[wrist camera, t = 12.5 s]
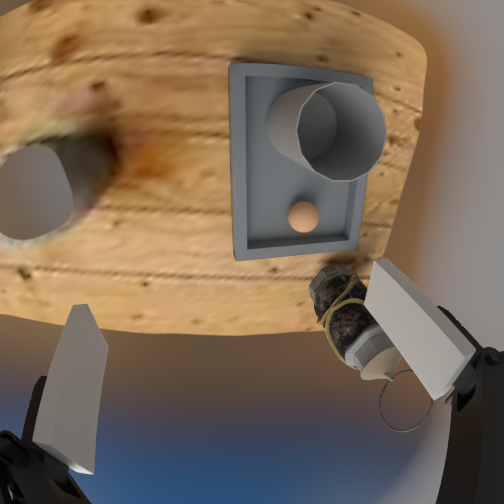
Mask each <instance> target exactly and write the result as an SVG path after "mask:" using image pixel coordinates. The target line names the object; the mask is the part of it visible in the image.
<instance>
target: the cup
mask: <svg viewBox="0 0 504 504" xmlns="http://www.w3.org/2000/svg"><path fill="white" fill-rule="evenodd" d="M265 127H266V130H267V134H268V138H269V141H270V142H271V143H272V144H273V146H274V147H275V148H276V149H277V150H278V152H279V153H281V154H283V155H284V156H286V157H288V158H290V159H292V160H293V161H295V162H297V163H299V164H300V165H302V166H304V167H306V168H307V169H309V170H311V171H312V172H314V173H316V174H318V175H320V176H322V177H324V178H326V179H328V180H330V181H332V182H352V181H354V180H356V179H358V178H360V177H362V176H364V175H366V174H368V173H369V172H370V171H371V170H372V169H373V167H374V166H375V165H376V163H377V162H378V161H379V160H380V158H381V157H382V154H383V150H384V146H385V143H386V139H387V132H386V124H385V117H384V114H383V112H382V111H381V109H380V107H379V105H378V104H377V102H376V100H375V99H374V97H373V96H371V95H370V94H369V93H367V92H366V91H365V90H363V89H362V88H360V87H359V86H357V85H355V84H348V83H341V82H329V83H322V84H316V85H310V86H304V87H299V88H294V89H291V90H289V91H286V92H284V93H282V94H280V95H278V96H277V98H276V99H275V100H274V101H273V103H272V104H271V105H270V106H269V107H268V112H267V116H266V121H265Z"/></svg>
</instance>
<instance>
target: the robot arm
mask: <svg viewBox="0 0 504 504" xmlns="http://www.w3.org/2000/svg"><path fill="white" fill-rule="evenodd" d="M364 306H365V307H366V308H367V309H368V311H369V312H370V313H371V315H372V316H373V317H374V318H375V320H376V321H377V322H378V324H379V325H380V326H381V328H382V329H383V330H384V331H385V333H386V334H387V335H388V337H389V338H390V339H391V341H392V342H393V343H394V345H395V346H396V348H397V349H398V350H399V352H400V353H401V354H402V356H403V357H404V358H405V360H406V361H407V363H408V364H409V365H410V367H411V368H412V370H413V371H414V372H415V374H416V375H417V377H418V378H419V379H420V381H421V382H422V384H423V385H424V387H425V388H426V389H427V391H428V392H429V394H430V395H431V397H432V398H433V400H435V399H437V398H439V397H440V396H442V395H444V394H445V393H446V392H447V391H448V390H449V388H450V387H451V386H452V384H453V386H454V387H455V389H454V390H453V392H452V393H451V394H450V395H449V397H448V398H447V399H446V401H445V404H447V403H448V402H449V401H450V400H451V399H452V401H451V403H450V405H452V411H451V423H450V433H449V441H448V448H447V455H446V460H445V466H444V471H443V476H442V480H441V485H440V489H439V493H438V497H437V501H436V504H504V351H502V352H499V351H497V350H496V349H494V348H492V347H486V348H483V347H482V346H480V345H479V343H478V342H477V341H476V340H475V339H474V338H473V337H472V335H470V333H469V332H468V331H467V330H466V329H465V328H464V327H463V326H461V324H460V323H459V321H458V320H456V318H455V317H454V316H453V315H452V314H451V313H450V312H449V311H448V310H446V309H444V308H443V307H441V306H436V305H435V304H433V302H432V301H431V300H430V299H429V298H428V297H427V296H426V295H425V294H424V293H422V291H421V290H420V289H419V288H418V287H417V286H416V285H415V284H413V283H412V282H411V281H410V280H409V279H408V278H407V277H406V276H405V275H404V274H403V273H402V272H401V271H400V270H399V269H398V268H397V267H396V266H395V265H393V264H392V263H391V262H390V261H389V260H388V259H387V258H383V259H378V260H374V262H373V267H372V272H371V277H370V281H369V285H368V290H367V294H366V298H365V302H364ZM108 348H109V347H108V345H107V343H106V341H105V339H104V337H103V335H102V333H101V332H100V329H99V327H98V325H97V323H96V321H95V319H94V317H93V315H92V313H91V311H90V308H89V306H88V304H80V305H73V307H72V309H71V312H70V314H69V317H68V319H67V322H66V324H65V327H64V329H63V332H62V335H61V337H60V340H59V343H58V346H57V349H56V351H55V355H54V357H53V360H52V364H51V367H50V370H49V373H48V376H41V377H40V379H39V380H38V381H37V383H36V384H35V386H34V389H33V393H32V396H31V397H32V399H31V400H30V403H29V408H28V411H27V415H26V420H25V424H24V429H23V433H22V438H21V440H20V439H19V438H18V437H17V436H15V435H14V434H13V433H11V432H10V431H6V430H3V431H1V432H0V504H91V503H90V501H89V500H88V499H87V497H86V496H85V495H84V493H83V492H82V490H81V489H80V487H79V486H78V485H77V483H76V482H75V480H74V479H73V477H72V476H71V475H70V474H69V473H68V468H69V467H70V468H71V469H73V470H75V471H76V472H80V473H87V474H94V458H95V443H96V430H97V420H98V411H99V403H100V396H101V388H102V381H103V376H104V369H105V364H106V359H107V353H108ZM10 493H12V495H13V500H12V499H11V496H10Z"/></svg>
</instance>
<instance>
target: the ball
mask: <svg viewBox="0 0 504 504" xmlns="http://www.w3.org/2000/svg"><path fill="white" fill-rule="evenodd" d="M288 220H289V223H290V225H291V226H292V228H293V229H295V230H296V231H298V232H309V231H311V230H313V229H314V228H315V227H316V226H317V224H318V222H319V212H318V210H317V208H316V207H315V206H314V205H313V204H312V203H310V202H306V201H301V202H297V203H296V204H294V205H293V206H292V207H291V208H290V210H289V213H288Z"/></svg>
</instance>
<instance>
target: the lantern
mask: <svg viewBox="0 0 504 504" xmlns="http://www.w3.org/2000/svg"><path fill="white" fill-rule="evenodd" d="M309 289H310V295H311V298H312V300H313V302H314V309H315V313H316V315H317V317H318V320H317V324H318V325H320V324H322V325H323V327H324V328H325V333H326V335H327V337H328V340H329V342H330V344H331V346H332V348H333V349H334V351H335V353H336V354H337V356H338V357H339V358H340V360H341V361H343V362H344V363H345V364H346V365H348V366H350V367H352V368H354V369H359V370H360V372H361V378H362V379H365V380H374V379H377V378H387V379H389V381H388V382H387V383H386V385H385V386H384V388H383V390H382V393H381V395H380V399H379V413H380V417H381V419H382V421H383V422H384V424H385V425H386V426H387V427H388V428H390V429H391V430H393V431H397V432H407V431H410V430H413V429H415V428H416V427H418V426H420V424H422V423H423V422H424V421H425V419H426V418H427V416H428V415H429V413H430V411H431V409H432V406H433V401H434V400H433V398H432V399H431V405H430V408H429V411H428V413H427V415H426V416H425V417H424V419H423V420H422V421H421V422H420V423H419V424H417V425H416V426H414V427H412V428H410V429H405V430H398V429H394V428H392V427H391V426H389V425H388V424H387V423H386V421H385V420H384V418H383V416H382V412H381V399H382V396H383V393H384V390H385V388H386V387H387V385H388V383H389V382H390V381H392V382H393V381H394V380H395V377H396V376H398V375H399V374H402V373H405V372H414V371H413V370H404V371H401V372H399V373H397V374H395V375H393V373H394V371H395V369H396V366H397V364H398V362H399V361H400V359H401V358H402V354H401V353H400V352H399V350H398V349H397V348H396V346H395V345H394V343H393V342H392V341H391V339H390V338H389V337H388V335H387V334H386V333H385V331H384V330H383V329H382V328H381V326H380V325H379V324H378V322H377V321H376V320H375V318H374V317H373V316H372V315H371V313H370V312H369V311H368V309H367V308H366V307H365V306H364V302H365V298H366V294H367V290H368V289H367V288H366V287H365V285H364V284H363V283H362V281H360V280H359V278H358V275H357V274H356V273H353V274H352V276H351V274H350V273H349V272H348V271H346V270H344V269H342V268H340V267H338V266H336V265H334V266H331V267H328V268H325V269H322V270H321V271H320V272H319V273H318V275H317V276H316V277H315V279H314V280H313V281H312V283H311V284H310V285H309ZM390 377H392V378H390Z"/></svg>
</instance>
